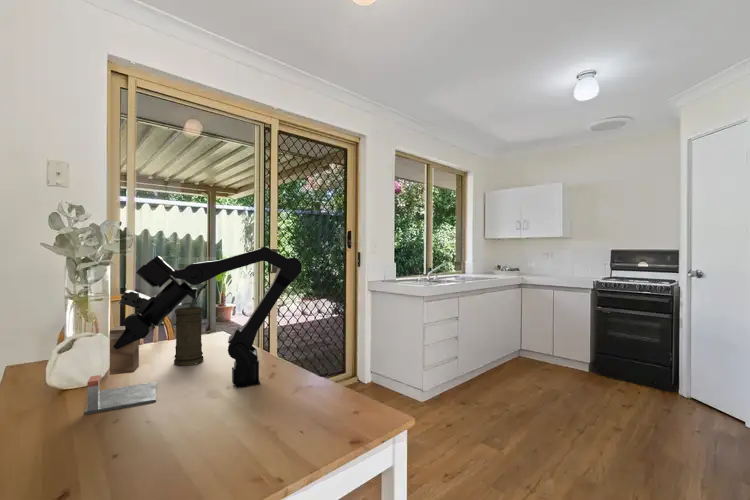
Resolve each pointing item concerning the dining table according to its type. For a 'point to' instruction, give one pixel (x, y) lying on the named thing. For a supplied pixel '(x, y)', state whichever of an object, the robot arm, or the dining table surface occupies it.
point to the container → (188, 336)
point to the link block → (122, 354)
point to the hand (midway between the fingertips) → (118, 345)
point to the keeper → (117, 396)
